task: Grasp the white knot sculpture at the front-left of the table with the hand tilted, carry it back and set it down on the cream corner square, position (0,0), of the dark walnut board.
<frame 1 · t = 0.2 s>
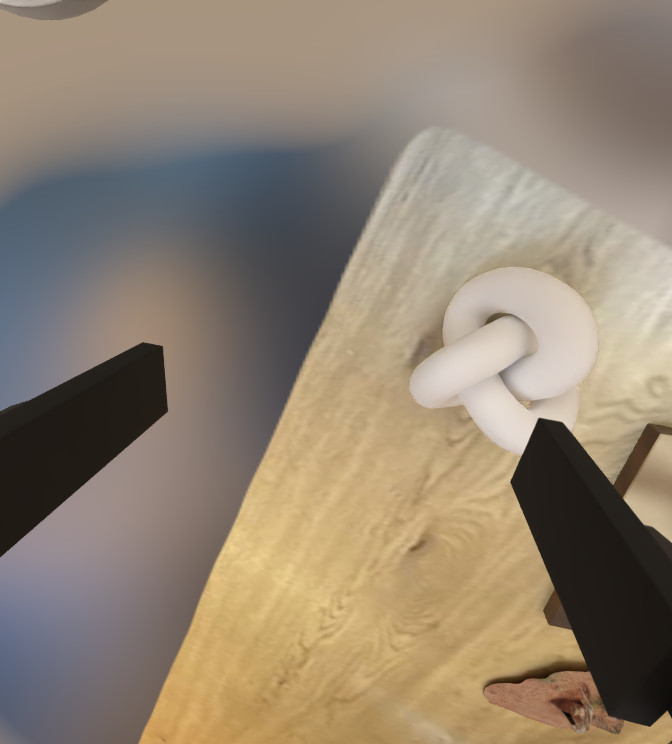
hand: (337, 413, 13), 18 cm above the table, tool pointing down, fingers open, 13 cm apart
clay slab: (560, 694, 44), on the table
white knot sculpture: (474, 346, 29), on the table
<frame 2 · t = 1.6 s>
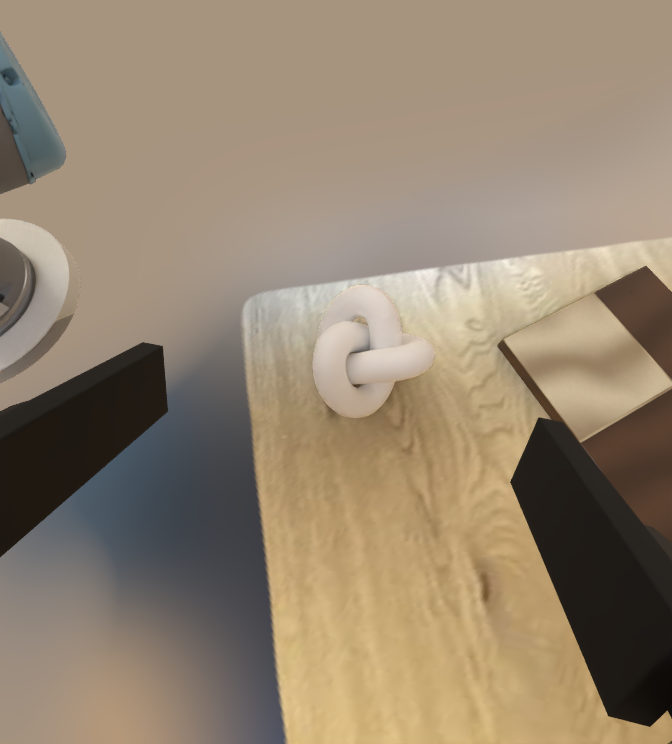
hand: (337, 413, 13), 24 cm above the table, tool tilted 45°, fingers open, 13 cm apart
board: (645, 398, 37), on the table
white knot sculpture: (359, 375, 39), on the table
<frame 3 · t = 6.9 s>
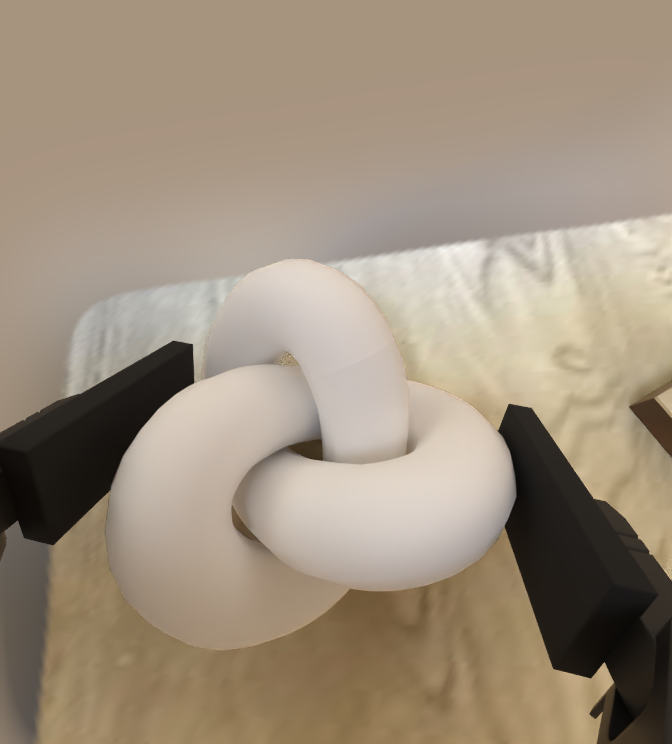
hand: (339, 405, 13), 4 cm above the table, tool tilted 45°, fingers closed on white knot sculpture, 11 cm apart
white knot sculpture: (310, 477, 17), on the table, touching gripper
when the fingers open (6 cm above the table, at t = 16.0 s): white knot sculpture stays where it is, resting on board.
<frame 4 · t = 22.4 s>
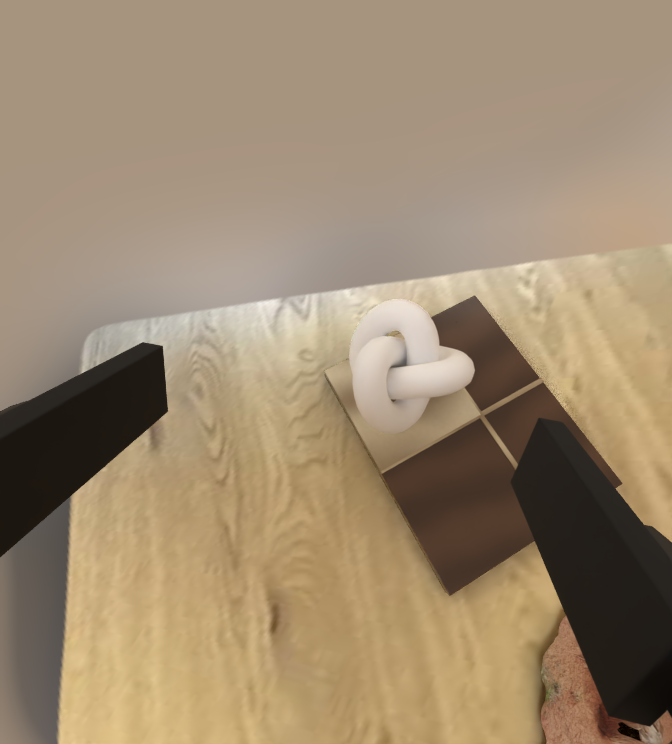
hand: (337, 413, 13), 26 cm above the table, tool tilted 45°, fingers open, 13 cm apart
board: (459, 426, 38), on the table
clay slab: (610, 717, 30), on the table
white knot sculpture: (392, 388, 38), point 2 cm above the table, touching board
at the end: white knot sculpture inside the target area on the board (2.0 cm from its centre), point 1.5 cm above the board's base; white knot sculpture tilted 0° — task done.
